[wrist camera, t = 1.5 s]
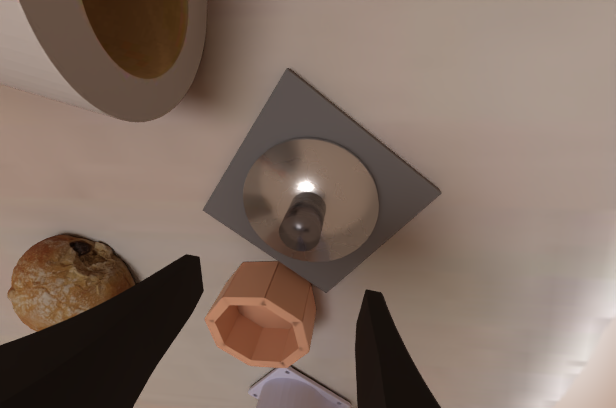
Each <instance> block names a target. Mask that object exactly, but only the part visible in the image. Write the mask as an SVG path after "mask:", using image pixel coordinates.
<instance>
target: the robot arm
mask: <svg viewBox="0 0 616 408" xmlns="http://www.w3.org/2000/svg"><path fill="white" fill-rule="evenodd" d="M203 291H204V290H203V282H202V274H201V265H200V257H198V256H192V255H187V254H186V255H184V256H183V257H181V258H179V259H178V260H176V261H174V262H173V263H171V264H169V265H168V266H166V267H164V268H163V269H161V270H160V271H158V272H156V273H155V274H153V275H151V276H150V277H148V278H146V279H144V280H143V281H141V282H139V283H138V284H136V285H134V286H132V287H131V288H129V289H127V290H125V291H123V292H122V293H120V294H118V295H116V296H114V297H112V298H111V299H109V300H107V301H105V302H103V303H101V304H99V305H97V306H95V307H93V308H91V309H89V310H87V311H84V312H82V313H80V314H78V315H76V316H74V317H71V318H69V319H67V320H64V321H62V322H60V323H57V324H55V325H52V326H50V327H48V328H45V329H43V330H40V331H38V332H35V333H33V334H30V335H28V336H25V337H22V338H20V339H17V340H14V341H11V342H9V343H6V344H3V345H0V408H133V406H134V404H135V402H136V401H137V399H138V397H139V395H140V393H141V392H142V390H143V388H144V386H145V384H146V383H147V381H148V379H149V377H150V376H151V374H152V372H153V371H154V369H155V367H156V366H157V364H158V363H159V361H160V360H161V358H162V357H163V355H164V354H165V352H166V351H167V350H168V348H169V347H170V345H171V344H172V342H173V341H174V339H175V338H176V336H177V335H178V334H179V332H180V331H181V329H182V328H183V326H184V325H185V323H186V322H187V320H188V319H189V317H190V316H191V314H192V313H193V311H194V309H195V307H196V305H197V303H198V301H199V299H200V297H201V295H202V293H203ZM355 358H356V380H357V402H358V408H441V407H440V405H439V404H438V402H437V401H436V399H435V398H434V396H433V395H432V393H431V391H430V390H429V388H428V387H427V385H426V383H425V382H424V380H423V378H422V376H421V375H420V373H419V371H418V369H417V368H416V366H415V364H414V362H413V360H412V358H411V357H410V355H409V353H408V351H407V349H406V347H405V345H404V343H403V341H402V339H401V337H400V335H399V333H398V331H397V328H396V326H395V324H394V322H393V319H392V317H391V315H390V312H389V310H388V307H387V305H386V302H385V299H384V297H383V294H382V293H381V292H376V291H371V290H366V291H365V294H364V298H363V302H362V305H361V309H360V313H359V316H358V320H357V325H356V341H355ZM248 393H249V394H250V395H251V396H253V397H255V398H257V399H258V403H257V406H256V408H351V404H350V403H349V402H348V401H346V400H344V399H343V398H341V397H339V396H338V395H336V394H334V393H333V392H331V391H329V390H328V389H326V388H324V387H323V386H321V385H319V384H318V383H316V382H315V381H313V380H311V379H310V378H308V377H306V376H305V375H303V374H301V373H300V372H298V371H296V370H295V369H293V368H291V367H290V366H289V367H288V368H275V369H274V370H273V371H272V372H270V373H269V374H268V375H266V376H265V377H264V378H262V379H261V380H260V381H258V382H257V383H256V384H254V385H253V386H252V387H250V388H249V390H248Z"/></svg>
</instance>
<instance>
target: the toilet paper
mask: <svg viewBox="0 0 616 408" xmlns="http://www.w3.org/2000/svg"><path fill="white" fill-rule="evenodd" d="M206 23H207V0H0V84H2V85H5V86H9V87H12V88H15V89H19V90H22V91H25V92H29V93H32V94H36V95H39V96H42V97H46V98H49V99H53V100H56V101H59V102H63V103H66V104H69V105H73V106H76V107H80V108H83V109H86V110H90V111H93V112H97V113H100V114H103V115H107V116H110V117H114V118H117V119H120V120H125V121H129V122H146V121H151V120H154V119H157V118H160V117H162V116H164V115H165V114H167V113H168V112H170V111H171V110H172V109H173V108H174V107H175V106H176V105H177V104H178V103H179V102H180V101H181V100H182V99H183V97H184V96H185V94H186V93H187V91H188V90H189V88H190V86H191V84H192V82H193V80H194V78H195V75H196V73H197V70H198V67H199V64H200V61H201V57H202V53H203V48H204V42H205V36H206Z"/></svg>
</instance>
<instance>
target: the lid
mask: <svg viewBox="0 0 616 408" xmlns="http://www.w3.org/2000/svg"><path fill="white" fill-rule="evenodd" d="M243 203H244V208H245V213H246V215H247V218H248V220H249V222H250V224H251V226H252V228H253V229H254V231H255V232H256V233H257V235H258V236H259V237H260V238H261V239H262V240H263V241H264V242H265V243H266V244H267V245H269V246H270V247H271V248H273V249H274V250H276V251H278V252H279V253H281V254H283V255H286V256H288V257H291V258H294V259H297V260H301V261H308V262H326V261H331V260H336V259H339V258H342V257H344V256H346V255H348V254H350V253H352V252H353V251H355V250H356V249H358V248H359V247H360V246H361V245H362V244H363V243H364V242H365V241H366V240H367V239H368V237H369V236H370V235H371V233H372V231H373V229H374V227H375V224H376V221H377V218H378V212H379V201H378V193H377V188H376V184H375V181H374V179H373V177H372V174H371V172H370V171H369V169H368V168H367V166H366V165H365V164H364V162H363V161H362V160H361V159H360V158H359V157H358V156H357V155H356V154H355V153H353V152H352V151H351V150H349V149H348V148H346V147H345V146H343V145H341V144H339V143H337V142H334V141H331V140H328V139H324V138H319V137H297V138H292V139H288V140H285V141H282V142H280V143H278V144H276V145H274V146H272V147H271V148H270V149H268V150H267V151H266V152H265V153H264V154H262V155H261V156H260V157H259V158H258V159H257V160H256V162H255V163H254V164H253V166H252V167H251V169H250V171H249V172H248V174H247V177H246V180H245V183H244V188H243Z"/></svg>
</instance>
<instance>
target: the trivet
mask: <svg viewBox="0 0 616 408" xmlns="http://www.w3.org/2000/svg"><path fill="white" fill-rule="evenodd" d="M297 137H319V138H324V139H328V140H331V141H334V142H337V143H339V144H341V145H343V146H345V147H346V148H348V149H349V150H351V151H352V152H353V153H355V154H356V155H357V156H358V157H359V158H360V159H361V160H362V161H363V162H364V164H365V165H366V166H367V168H368V169H369V171H370V172H371V174H372V177H373V179H374V181H375V184H376V188H377V193H378V201H379V212H378V218H377V221H376V224H375V227H374V229H373V231H372V233H371V235H370V236H369V237H368V239H367V240H366V241H365V242H364V243H363V244H362V245H361V246H360V247H359V248H358V249H356V250H355V251H353V252H352V253H350V254H348V255H346V256H344V257H342V258H339V259H336V260H331V261H326V262H308V261H301V260H297V259H294V258H291V257H288V256H286V255H283V254H281V253H279V252H278V251H276V250H274V249H273V248H271V247H270V246H269V245H267V244H266V243H265V242H264V241H263V240H262V239H261V238H260V237H259V236H258V235H257V233H256V232H255V231H254V229H253V228H252V226H251V224H250V222H249V220H248V218H247V215H246V213H245V208H244V203H243V188H244V183H245V180H246V177H247V174H248V172H249V171H250V169H251V167H252V166H253V164H254V163H255V162H256V160H257V159H258V158H259V157H260V156H261V155H262V154H264V153H265V152H266V151H267V150H268V149H270V148H271V147H272V146H274V145H276V144H278V143H280V142H282V141H285V140H288V139H292V138H297ZM440 194H441V191H440V190H439V189H438V188H437V187H436V186H434V185H433V184H432V183H431V182H429V181H428V180H427V179H426V178H424V177H423V176H422V175H421V174H420V173H418V172H417V171H416V170H415V169H413V168H412V167H411V166H410V165H408V164H407V163H406V162H405V161H403V160H402V159H401V158H400V157H398V156H397V155H396V154H395V153H393V152H392V151H391V150H390V149H389V148H387V147H386V146H385V145H384V144H382V143H381V142H380V141H379V140H377V139H376V138H375V137H374V136H372V135H371V134H370V133H369V132H367V131H366V130H365V129H364V128H362V127H361V126H360V125H359V124H358V123H356V122H355V121H354V120H353V119H351V118H350V117H349V116H348V115H346V114H345V113H344V112H343V111H341V110H340V109H339V108H338V107H336V106H335V105H334V104H333V103H331V102H330V101H329V100H328V99H327V98H325V97H324V96H323V95H322V94H320V93H319V92H318V91H317V90H315V89H314V88H313V87H312V86H310V85H309V84H308V83H307V82H305V81H304V80H303V79H302V78H300V77H299V76H298V75H297V74H296V73H294V72H293V71H292V70H291V69H289V68H287V69H286V70H285V72H284V74H283V76H282V77H281V79H280V81H279V82H278V84H277V86H276V87H275V89H274V91H273V92H272V94H271V96H270V97H269V99H268V101H267V102H266V104H265V106H264V108H263V109H262V111H261V113H260V114H259V116H258V118H257V119H256V121H255V123H254V124H253V126H252V128H251V129H250V131H249V133H248V134H247V136H246V138H245V140H244V141H243V143H242V145H241V146H240V148H239V150H238V151H237V153H236V155H235V156H234V158H233V160H232V161H231V163H230V165H229V167H228V168H227V170H226V172H225V173H224V175H223V177H222V178H221V180H220V182H219V183H218V185H217V187H216V188H215V190H214V192H213V193H212V195H211V197H210V199H209V200H208V202H207V204H206V205H205V207H204V209H203V211H205V212H206V213H208V214H209V215H210V216H212V217H213V218H215V219H216V220H218V221H219V222H221V223H222V224H224V225H225V226H227V227H228V228H230V229H231V230H233V231H234V232H236V233H237V234H239V235H240V236H242V237H243V238H245V239H246V240H248V241H249V242H251V243H252V244H254V245H255V246H257V247H258V248H260V249H261V250H263V251H264V252H266V253H267V254H269V255H270V256H272V257H273V258H275V259H276V260H278V261H279V262H281V263H282V264H284V265H285V266H286V267H288V268H289V269H291V270H292V271H294V272H295V273H297V274H298V275H300V276H301V277H303V278H304V279H306V280H307V281H309V282H310V283H312V284H313V285H315V286H316V287H318V288H319V289H321V290H322V291H324V292H325V293H327V292H328V291H329V290H330V289H331V288H333V287H334V286H335V285H336V284H337V283H338V282H340V281H341V280H342V279H343V278H344V277H345V276H347V275H348V274H349V273H350V272H351V271H352V270H353V269H355V268H356V267H357V266H358V265H359V264H360V263H362V262H363V261H364V260H365V259H366V258H367V257H368V256H370V255H371V254H372V253H373V252H374V251H375V250H377V249H378V248H379V247H380V246H381V245H382V244H383V243H385V242H386V241H387V240H388V239H389V238H390V237H392V236H393V235H394V234H395V233H396V232H397V231H399V230H400V229H401V228H402V227H403V226H404V225H405V224H407V223H408V222H409V221H410V220H411V219H412V218H414V217H415V216H416V215H417V214H418V213H419V212H420V211H422V210H423V209H424V208H425V207H426V206H427V205H429V204H430V203H431V202H432V201H433V200H434V199H436V198H437V197H438V196H439V195H440Z"/></svg>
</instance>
